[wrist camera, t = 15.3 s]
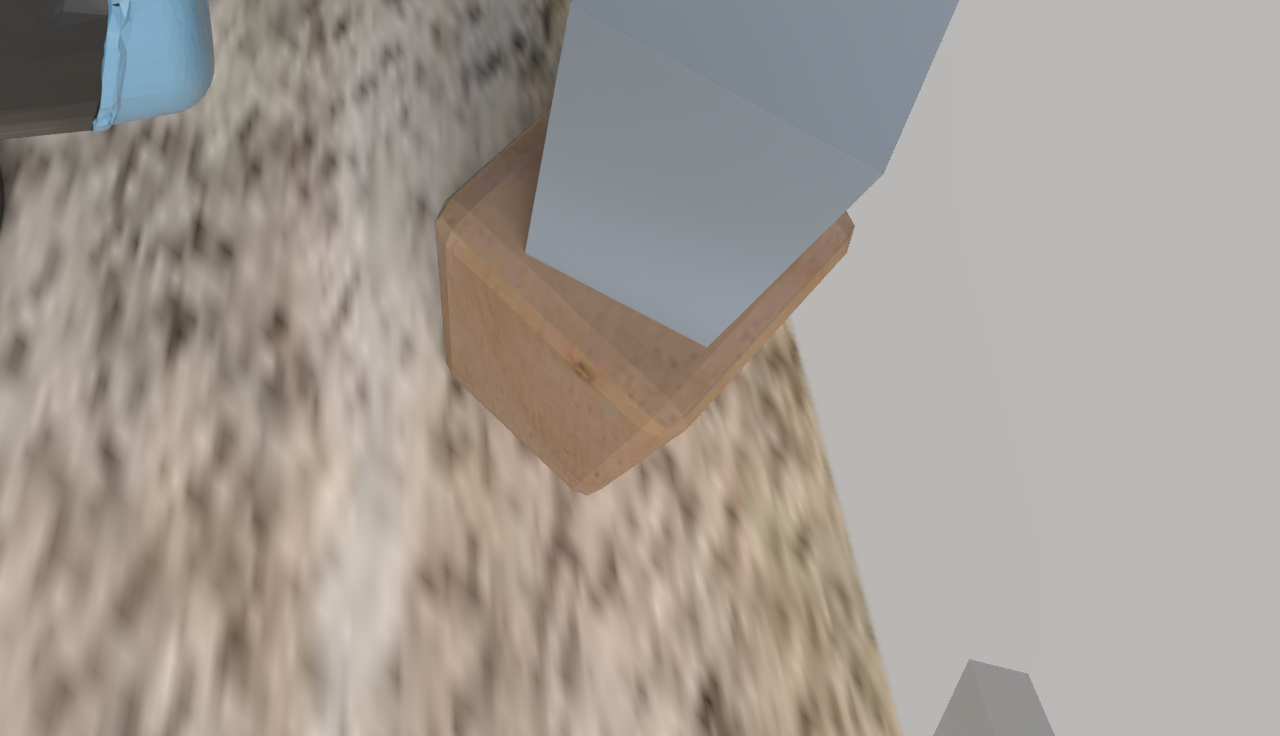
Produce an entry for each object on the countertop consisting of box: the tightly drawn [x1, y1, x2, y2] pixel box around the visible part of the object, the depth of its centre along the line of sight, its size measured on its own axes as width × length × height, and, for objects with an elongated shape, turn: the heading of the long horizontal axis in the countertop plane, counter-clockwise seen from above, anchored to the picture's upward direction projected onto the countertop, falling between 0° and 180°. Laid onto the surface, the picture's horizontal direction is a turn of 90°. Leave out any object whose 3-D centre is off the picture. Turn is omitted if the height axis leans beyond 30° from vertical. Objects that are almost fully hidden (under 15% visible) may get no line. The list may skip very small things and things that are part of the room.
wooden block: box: [435, 107, 855, 495], centre depth 38 cm, size 10×10×20 cm
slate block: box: [525, 0, 959, 347], centre depth 22 cm, size 6×6×12 cm
